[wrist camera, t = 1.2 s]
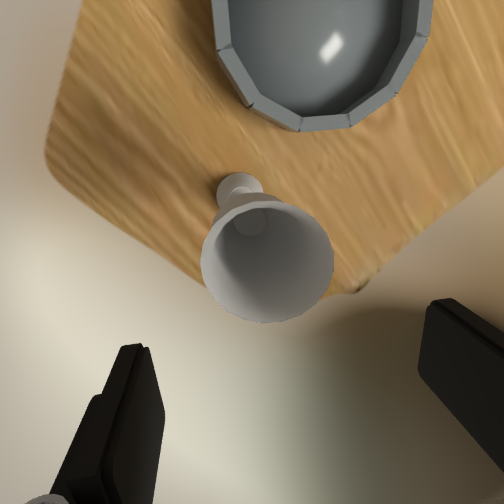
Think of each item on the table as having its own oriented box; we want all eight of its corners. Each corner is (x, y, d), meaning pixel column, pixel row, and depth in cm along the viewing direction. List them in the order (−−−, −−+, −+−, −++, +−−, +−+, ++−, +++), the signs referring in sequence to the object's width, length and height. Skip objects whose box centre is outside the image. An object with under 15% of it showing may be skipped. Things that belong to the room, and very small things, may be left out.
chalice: (192, 199, 32) (171, 273, 16) (234, 147, 31) (260, 169, 14) (245, 240, 35) (275, 343, 18) (286, 194, 33) (360, 260, 17)
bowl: (420, -118, 25) (451, -154, 22) (398, 122, 32) (419, 121, 29) (198, -113, 23) (196, -152, 20) (224, 137, 30) (226, 138, 27)
